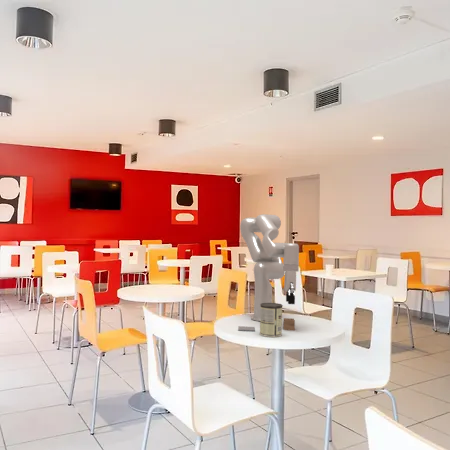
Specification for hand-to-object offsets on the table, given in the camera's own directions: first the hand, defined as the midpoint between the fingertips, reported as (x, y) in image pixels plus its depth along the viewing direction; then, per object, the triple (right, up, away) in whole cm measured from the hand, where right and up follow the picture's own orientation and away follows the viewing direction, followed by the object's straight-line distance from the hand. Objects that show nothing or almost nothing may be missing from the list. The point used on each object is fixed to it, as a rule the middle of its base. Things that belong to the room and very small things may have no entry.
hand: (290, 302), depth 222 cm
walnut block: (-1, -13, 0) cm, 13 cm away
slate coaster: (-22, -12, -4) cm, 25 cm away
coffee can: (-11, -13, -14) cm, 22 cm away
